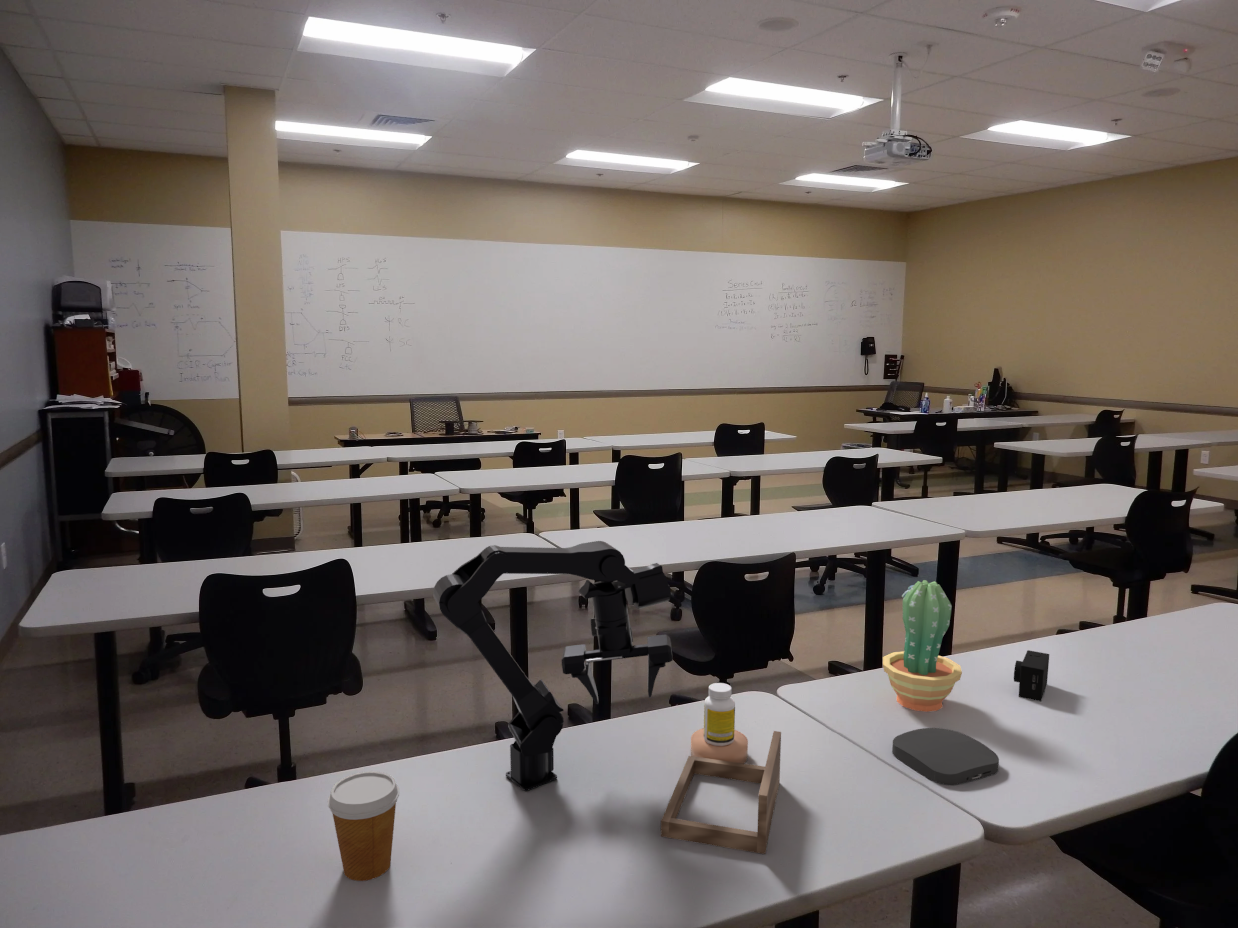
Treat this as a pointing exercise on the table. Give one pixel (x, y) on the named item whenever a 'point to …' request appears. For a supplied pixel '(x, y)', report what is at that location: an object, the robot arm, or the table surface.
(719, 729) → the supplement bottle
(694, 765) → the brown wooden frame
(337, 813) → the disposable coffee cup
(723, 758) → the terracotta stand
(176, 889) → the table surface
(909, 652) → the potted cactus
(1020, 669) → the digital camera
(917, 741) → the media streaming box
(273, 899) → the table surface
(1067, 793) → the table surface
